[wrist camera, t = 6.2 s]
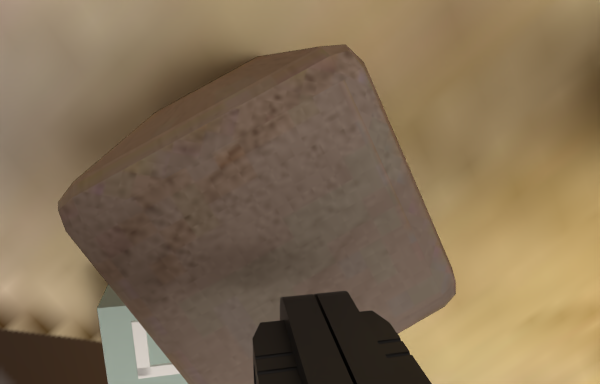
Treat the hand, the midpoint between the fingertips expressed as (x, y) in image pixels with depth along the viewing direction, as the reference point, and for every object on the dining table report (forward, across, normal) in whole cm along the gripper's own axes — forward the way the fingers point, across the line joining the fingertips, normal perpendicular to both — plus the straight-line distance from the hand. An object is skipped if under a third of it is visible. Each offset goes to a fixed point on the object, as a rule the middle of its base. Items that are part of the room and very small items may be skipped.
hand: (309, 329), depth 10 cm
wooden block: (+24, 0, 0) cm, 24 cm away
